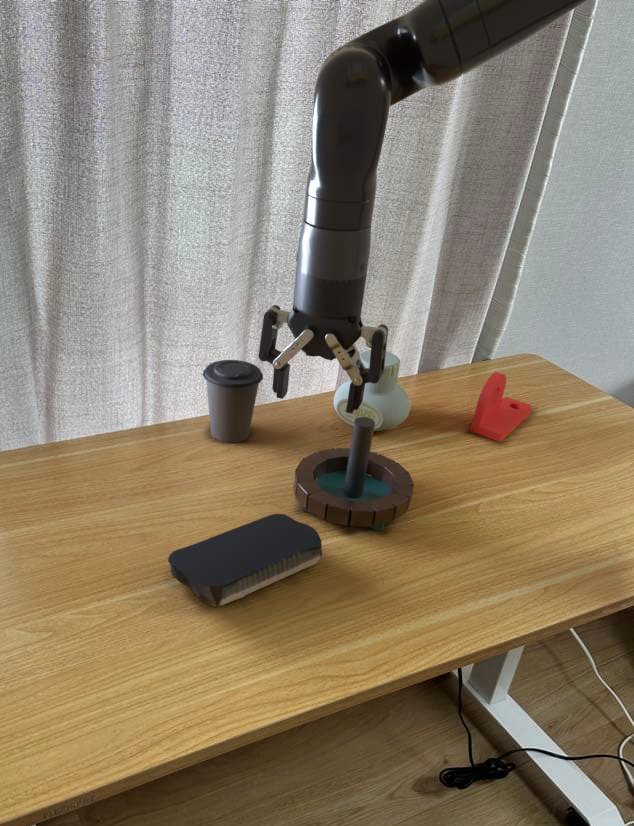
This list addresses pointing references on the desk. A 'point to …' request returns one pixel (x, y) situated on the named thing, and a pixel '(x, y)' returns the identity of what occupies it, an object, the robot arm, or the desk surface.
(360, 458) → the post stand
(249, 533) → the black board eraser
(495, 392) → the bracket
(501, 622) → the desk surface
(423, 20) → the robot arm
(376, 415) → the air freshener
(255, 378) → the coffee cup
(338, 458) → the ring
